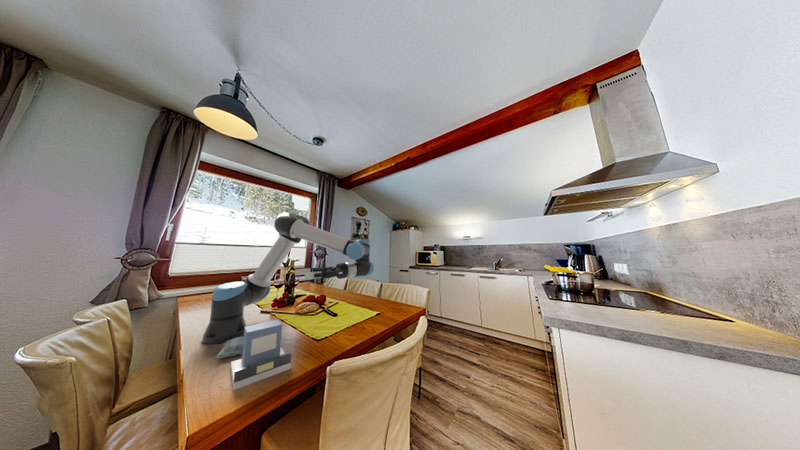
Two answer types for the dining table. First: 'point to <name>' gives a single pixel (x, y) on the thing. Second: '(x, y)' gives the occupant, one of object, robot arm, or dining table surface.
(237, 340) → the packaged food
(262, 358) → the carton
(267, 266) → the robot arm
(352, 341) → the dining table surface
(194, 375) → the dining table surface
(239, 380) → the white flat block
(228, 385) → the dining table surface
